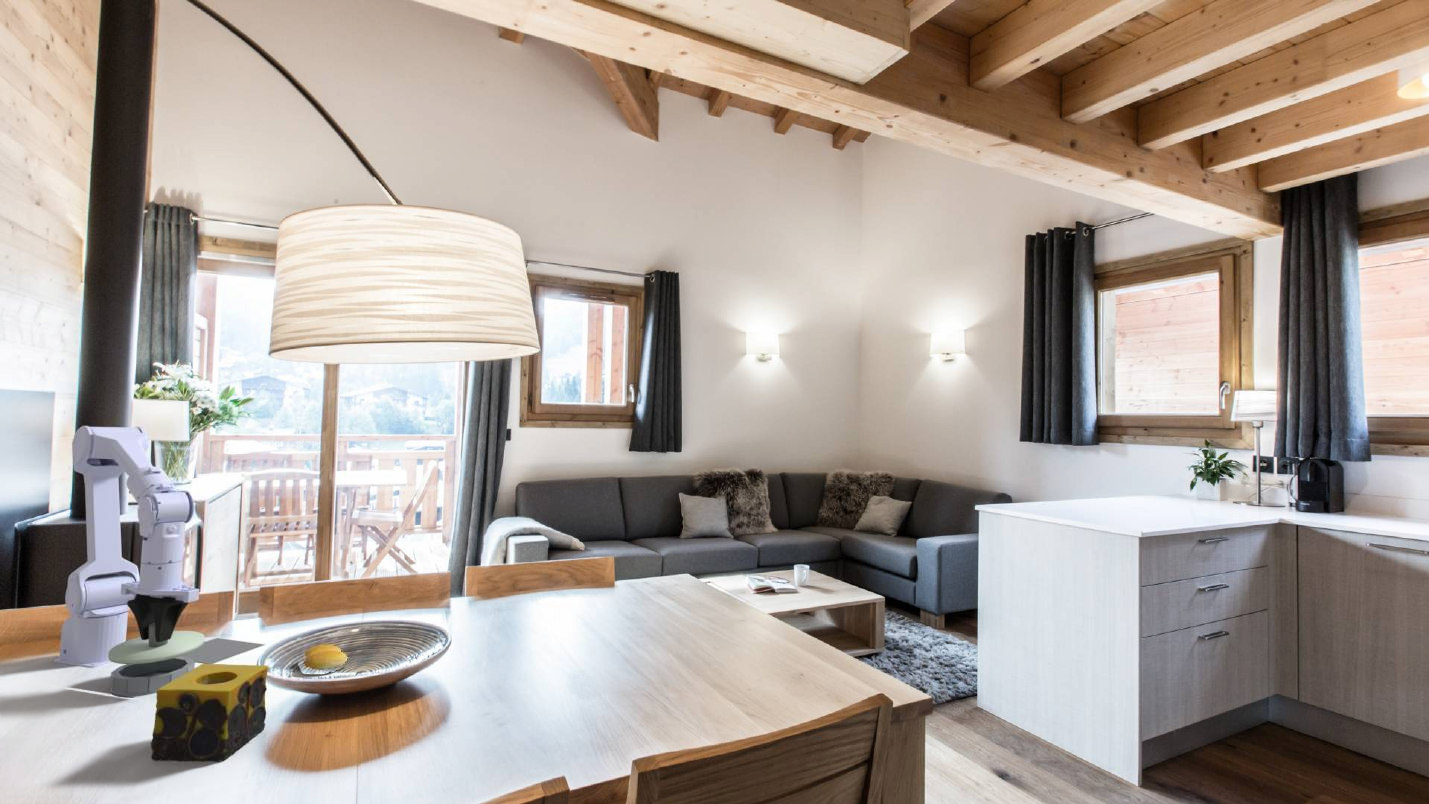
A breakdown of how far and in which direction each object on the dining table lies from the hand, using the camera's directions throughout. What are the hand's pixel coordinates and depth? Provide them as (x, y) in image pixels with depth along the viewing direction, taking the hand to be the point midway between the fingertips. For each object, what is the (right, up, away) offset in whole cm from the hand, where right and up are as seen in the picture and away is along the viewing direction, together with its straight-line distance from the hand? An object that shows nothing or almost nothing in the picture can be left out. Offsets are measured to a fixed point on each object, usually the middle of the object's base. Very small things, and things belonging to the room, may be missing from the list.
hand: (156, 639), depth 118 cm
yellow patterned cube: (+24, -9, -20) cm, 32 cm away
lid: (0, -2, 0) cm, 2 cm away
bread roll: (+22, -10, +12) cm, 27 cm away
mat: (-2, -8, +16) cm, 18 cm away
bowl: (0, -8, 0) cm, 8 cm away
